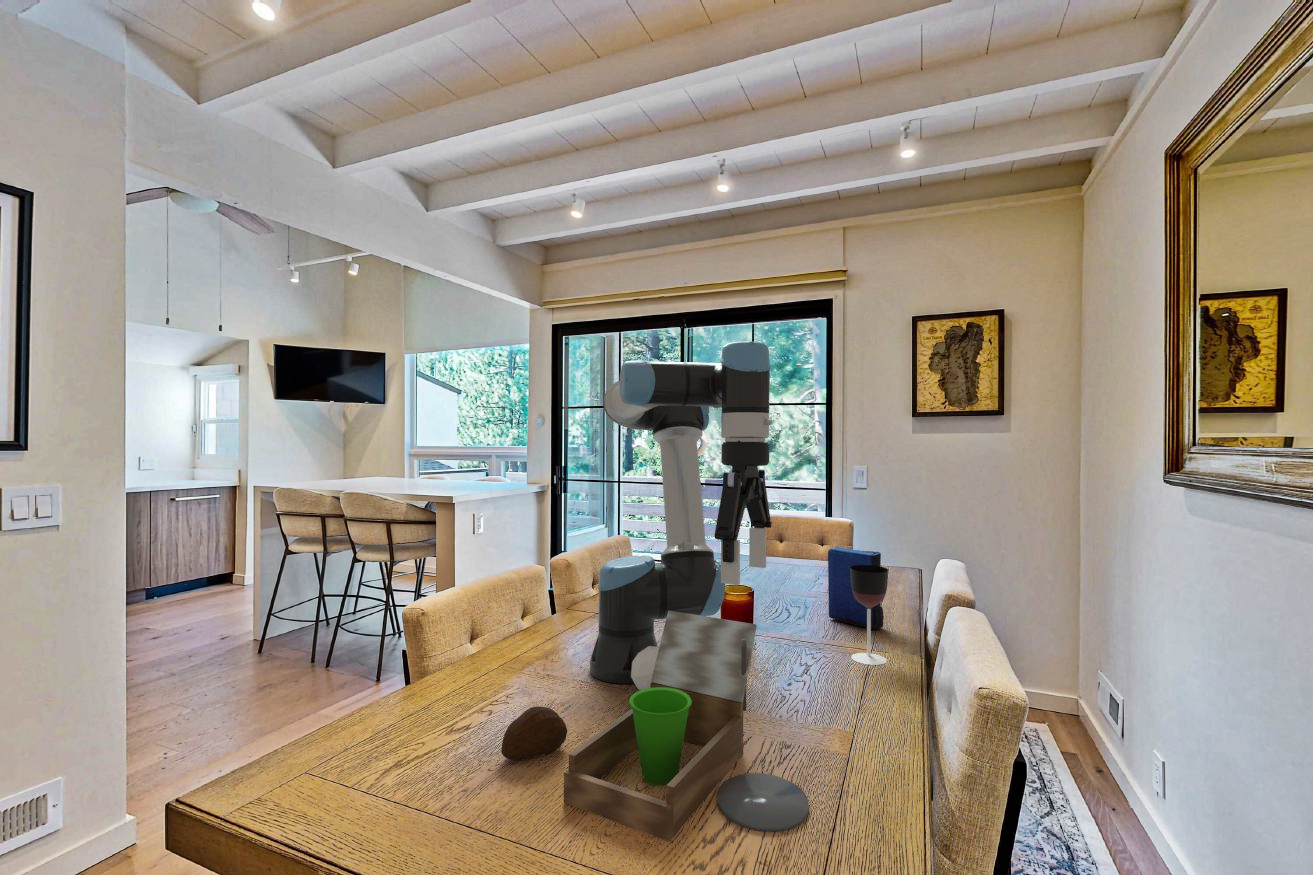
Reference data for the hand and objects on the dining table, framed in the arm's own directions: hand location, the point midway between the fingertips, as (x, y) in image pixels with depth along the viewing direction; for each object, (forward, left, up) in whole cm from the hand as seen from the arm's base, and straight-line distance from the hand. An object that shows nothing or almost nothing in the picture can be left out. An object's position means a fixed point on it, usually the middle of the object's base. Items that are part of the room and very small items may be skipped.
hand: (744, 574), depth 97 cm
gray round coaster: (+8, -13, -27) cm, 31 cm away
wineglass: (+10, +51, -27) cm, 59 cm away
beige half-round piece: (-21, +10, -27) cm, 36 cm away
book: (+2, +76, -27) cm, 81 cm away
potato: (-27, -18, -27) cm, 43 cm away
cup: (-7, -14, -27) cm, 32 cm away
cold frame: (-7, -11, -27) cm, 30 cm away
